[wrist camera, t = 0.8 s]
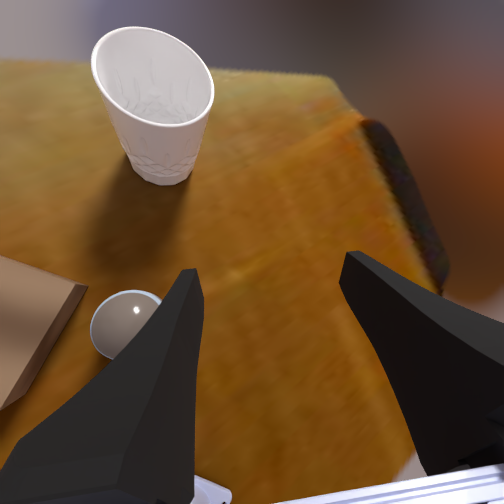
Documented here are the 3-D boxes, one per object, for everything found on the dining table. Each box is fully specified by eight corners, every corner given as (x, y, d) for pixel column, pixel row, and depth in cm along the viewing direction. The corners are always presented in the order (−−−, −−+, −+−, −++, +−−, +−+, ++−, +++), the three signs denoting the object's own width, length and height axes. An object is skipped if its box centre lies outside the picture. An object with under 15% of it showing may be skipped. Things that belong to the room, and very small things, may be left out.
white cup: (212, 162, 27) (235, 92, 18) (164, 205, 24) (161, 148, 15) (160, 113, 26) (155, 10, 16) (103, 152, 23) (58, 54, 14)
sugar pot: (147, 353, 21) (138, 375, 15) (98, 328, 20) (69, 341, 14) (177, 307, 22) (180, 311, 17) (134, 282, 22) (120, 276, 16)
